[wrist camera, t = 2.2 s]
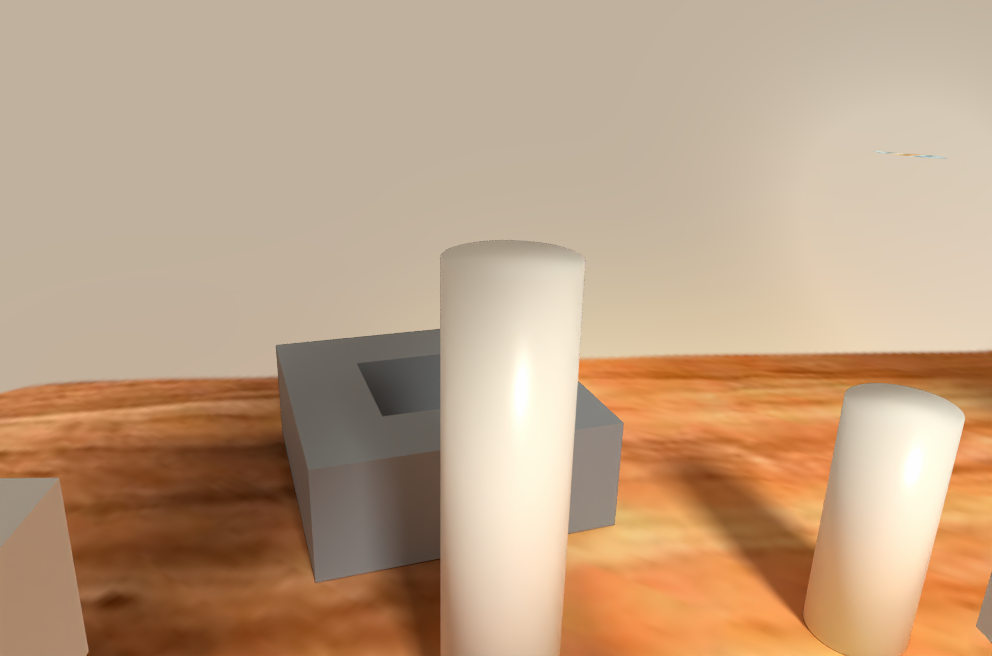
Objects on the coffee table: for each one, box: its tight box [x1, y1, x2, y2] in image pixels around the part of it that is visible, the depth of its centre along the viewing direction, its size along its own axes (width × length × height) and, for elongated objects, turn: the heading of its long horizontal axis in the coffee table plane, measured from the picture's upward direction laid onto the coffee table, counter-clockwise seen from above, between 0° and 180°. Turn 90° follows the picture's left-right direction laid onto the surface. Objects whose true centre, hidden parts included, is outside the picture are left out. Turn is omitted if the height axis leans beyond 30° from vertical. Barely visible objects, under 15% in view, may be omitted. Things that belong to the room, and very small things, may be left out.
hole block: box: [276, 329, 624, 582], centre depth 38 cm, size 13×13×5 cm
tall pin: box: [440, 240, 586, 656], centre depth 23 cm, size 4×4×15 cm
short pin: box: [803, 383, 965, 656], centre depth 28 cm, size 4×4×9 cm
